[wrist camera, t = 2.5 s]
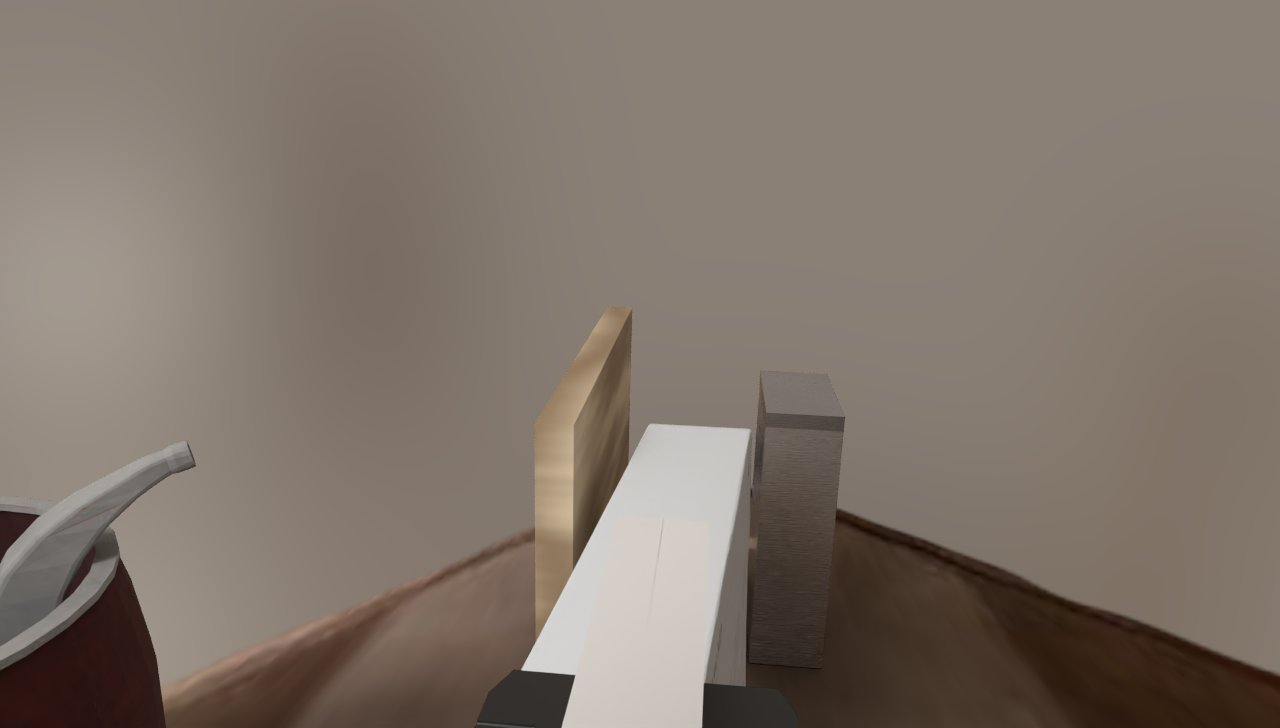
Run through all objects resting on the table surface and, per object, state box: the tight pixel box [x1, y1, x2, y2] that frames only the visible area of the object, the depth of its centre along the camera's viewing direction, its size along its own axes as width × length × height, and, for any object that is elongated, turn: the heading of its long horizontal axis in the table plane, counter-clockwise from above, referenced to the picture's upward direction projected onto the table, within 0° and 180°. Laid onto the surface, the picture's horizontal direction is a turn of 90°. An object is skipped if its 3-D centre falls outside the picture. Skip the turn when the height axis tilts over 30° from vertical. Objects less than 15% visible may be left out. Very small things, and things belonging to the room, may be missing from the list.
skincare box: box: [522, 424, 752, 686], centre depth 33 cm, size 21×6×16 cm, turn 170°
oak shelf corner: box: [535, 307, 632, 641], centre depth 46 cm, size 10×22×18 cm, turn 175°
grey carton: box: [747, 371, 845, 668], centre depth 51 cm, size 4×8×15 cm, turn 175°
